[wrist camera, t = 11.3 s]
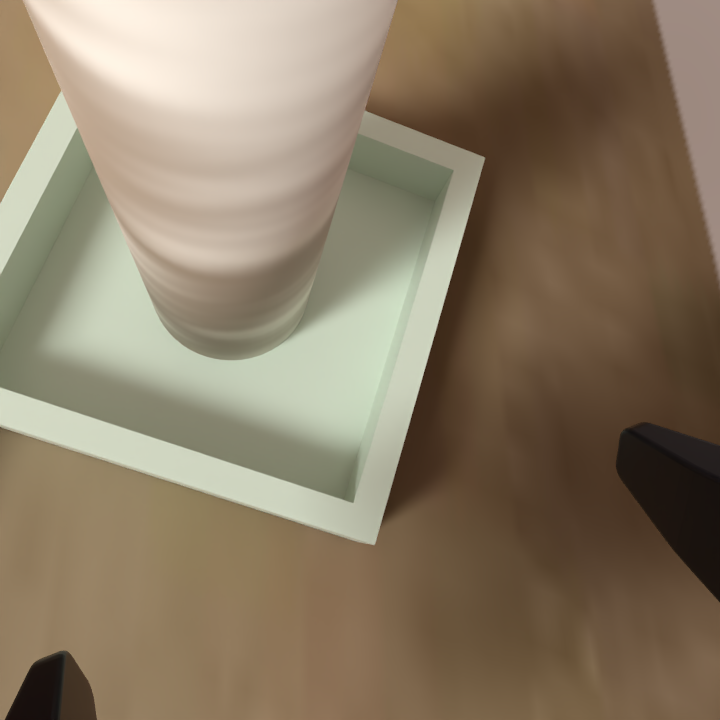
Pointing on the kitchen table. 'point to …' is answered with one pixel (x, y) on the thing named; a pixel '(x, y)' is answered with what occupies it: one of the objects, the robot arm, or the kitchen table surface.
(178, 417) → the tray
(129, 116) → the peg
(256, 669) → the kitchen table surface
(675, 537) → the robot arm
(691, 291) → the kitchen table surface
